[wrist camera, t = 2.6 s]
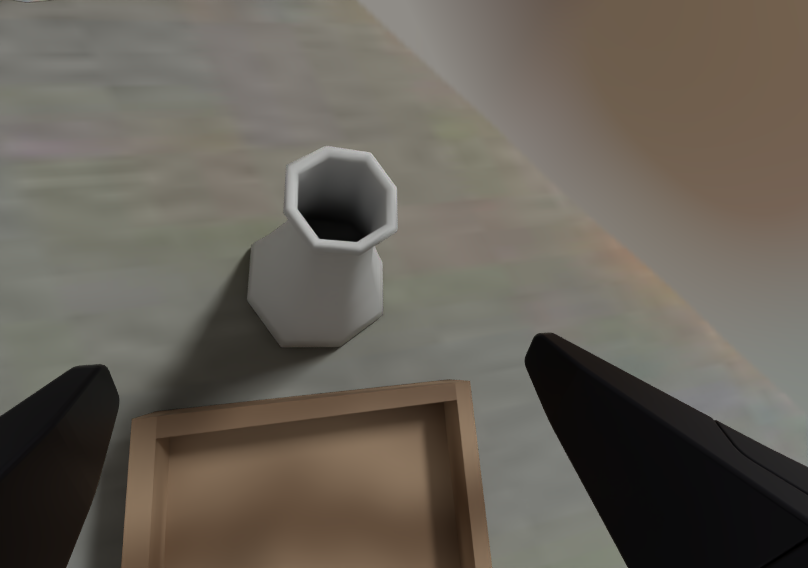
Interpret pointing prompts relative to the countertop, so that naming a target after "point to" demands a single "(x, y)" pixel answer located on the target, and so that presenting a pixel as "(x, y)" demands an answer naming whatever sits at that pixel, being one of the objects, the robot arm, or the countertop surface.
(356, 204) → the flask
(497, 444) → the countertop surface
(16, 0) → the french press
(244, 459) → the wooden tray
